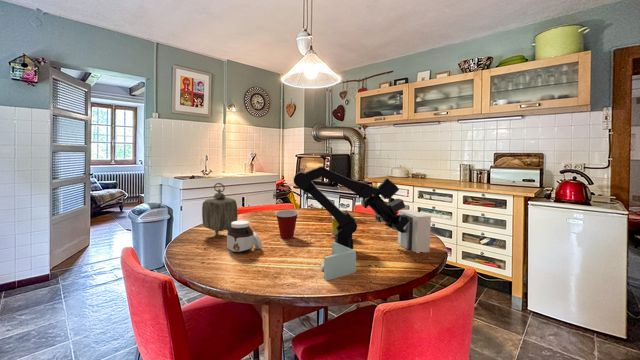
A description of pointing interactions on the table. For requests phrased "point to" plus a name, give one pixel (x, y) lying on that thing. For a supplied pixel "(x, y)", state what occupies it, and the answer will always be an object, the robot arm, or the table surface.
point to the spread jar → (242, 238)
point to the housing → (418, 230)
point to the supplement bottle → (335, 225)
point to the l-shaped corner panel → (339, 262)
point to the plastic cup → (286, 223)
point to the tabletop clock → (219, 212)
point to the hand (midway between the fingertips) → (403, 232)
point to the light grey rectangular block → (406, 236)
